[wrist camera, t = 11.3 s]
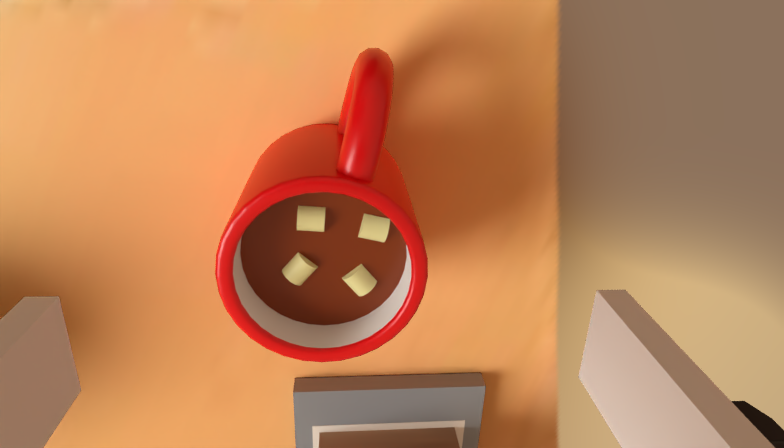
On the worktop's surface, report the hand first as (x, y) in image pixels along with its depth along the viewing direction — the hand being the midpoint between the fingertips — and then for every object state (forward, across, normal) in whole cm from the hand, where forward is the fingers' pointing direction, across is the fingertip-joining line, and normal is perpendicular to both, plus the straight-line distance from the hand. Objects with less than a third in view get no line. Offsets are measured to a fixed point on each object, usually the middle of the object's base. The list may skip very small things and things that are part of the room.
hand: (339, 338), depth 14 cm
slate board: (+14, -3, +20) cm, 24 cm away
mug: (+14, 0, 0) cm, 14 cm away
